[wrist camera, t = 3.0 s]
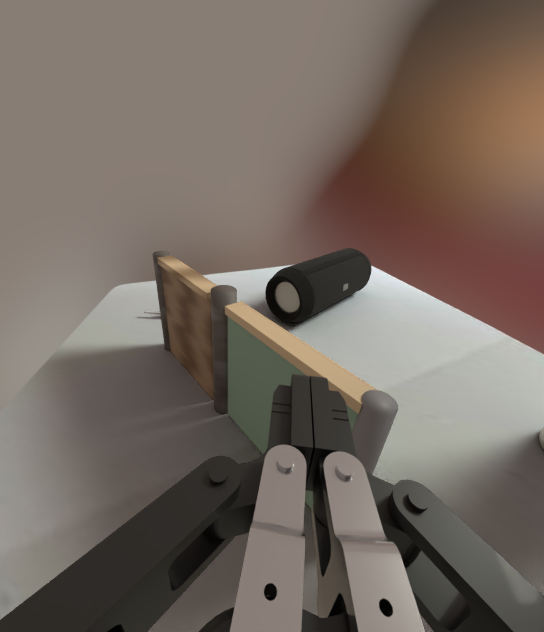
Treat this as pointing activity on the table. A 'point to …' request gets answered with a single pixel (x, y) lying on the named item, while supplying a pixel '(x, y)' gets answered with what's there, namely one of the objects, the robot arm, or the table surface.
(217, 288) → the fence fixed section
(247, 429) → the panel
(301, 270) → the portable speaker
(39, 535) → the table surface
